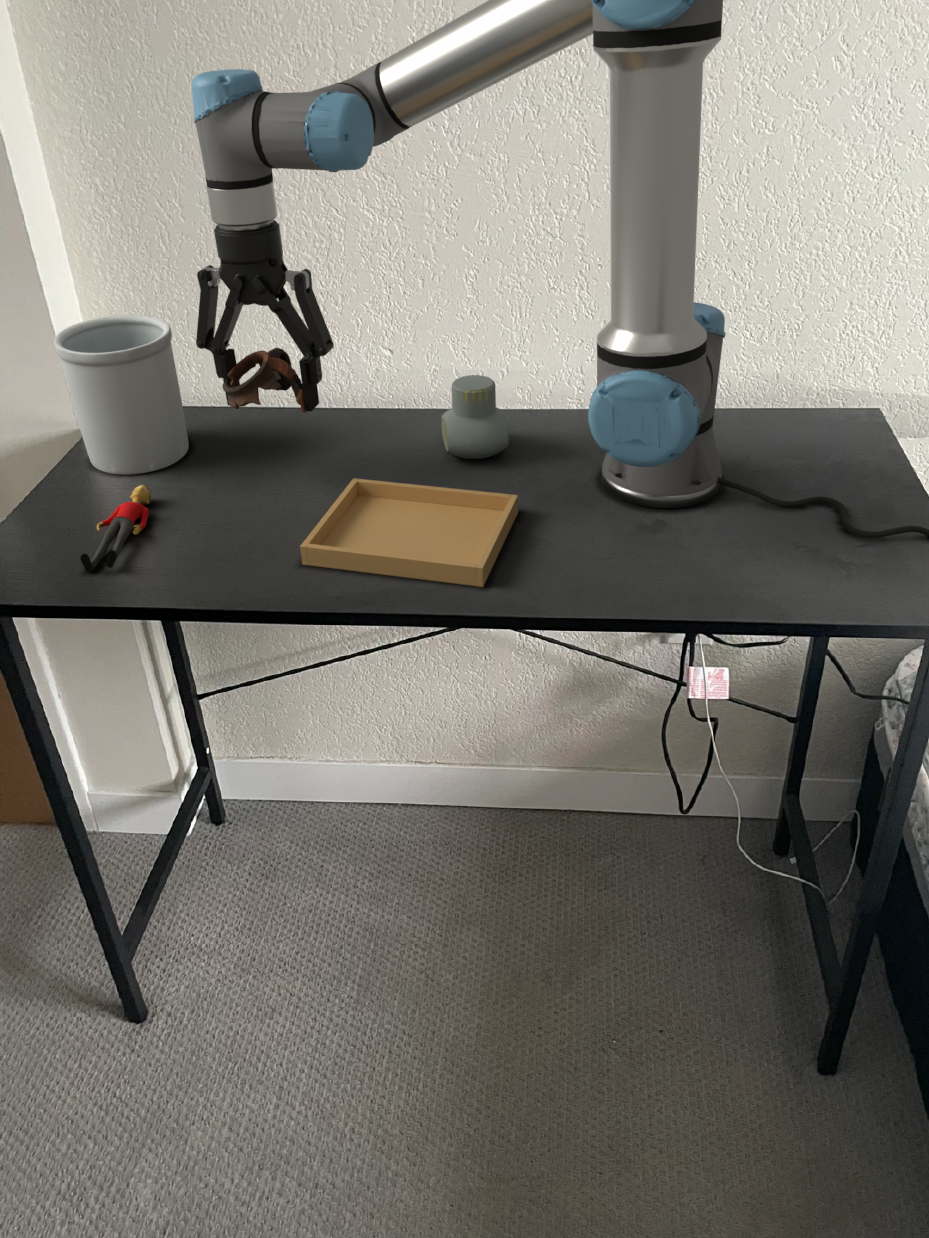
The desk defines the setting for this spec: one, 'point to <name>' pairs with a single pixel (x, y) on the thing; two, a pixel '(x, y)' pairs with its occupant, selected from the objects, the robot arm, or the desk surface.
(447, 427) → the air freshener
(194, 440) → the desk surface
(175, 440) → the utensil holder
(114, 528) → the person figure
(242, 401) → the broken clay pot
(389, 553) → the tray
